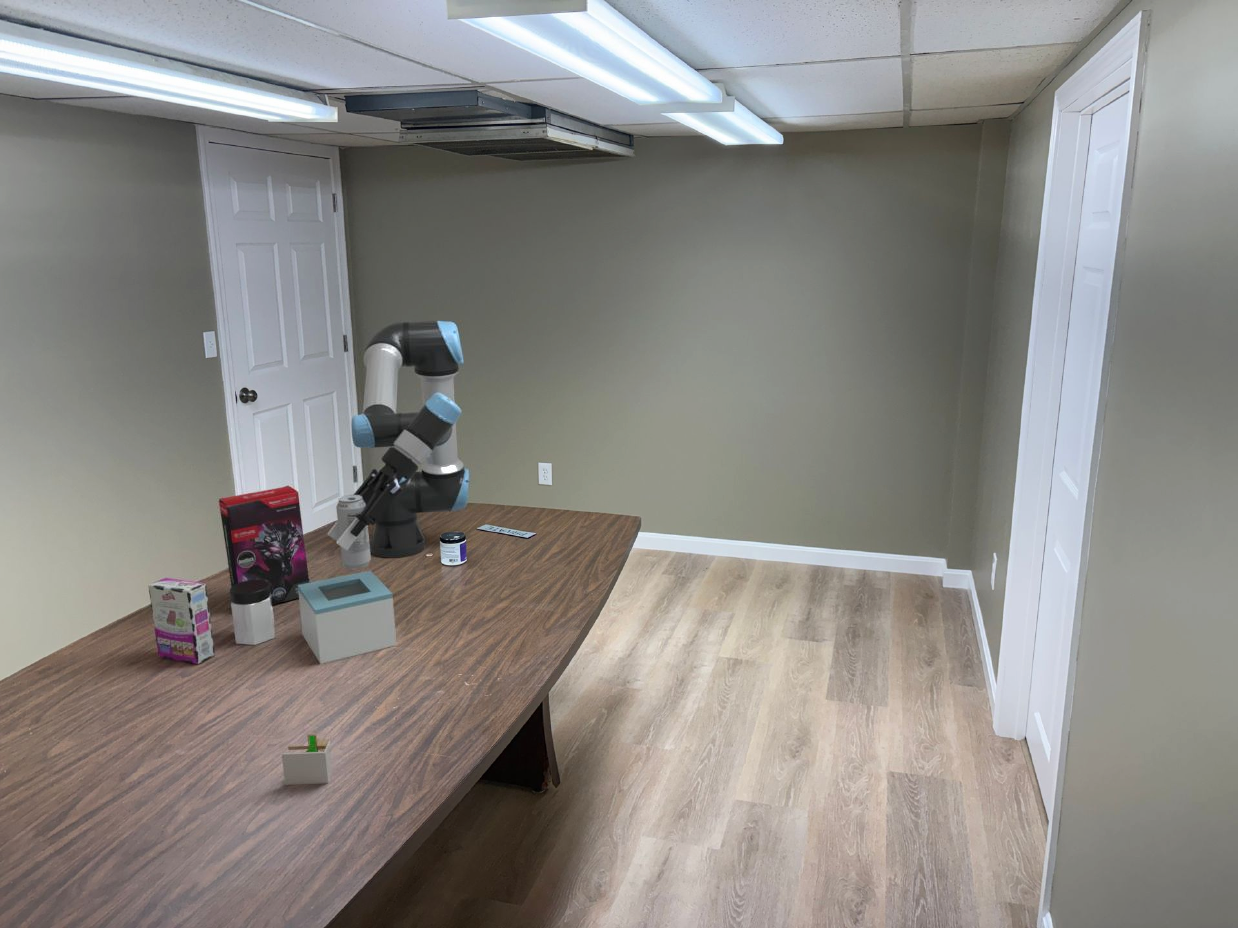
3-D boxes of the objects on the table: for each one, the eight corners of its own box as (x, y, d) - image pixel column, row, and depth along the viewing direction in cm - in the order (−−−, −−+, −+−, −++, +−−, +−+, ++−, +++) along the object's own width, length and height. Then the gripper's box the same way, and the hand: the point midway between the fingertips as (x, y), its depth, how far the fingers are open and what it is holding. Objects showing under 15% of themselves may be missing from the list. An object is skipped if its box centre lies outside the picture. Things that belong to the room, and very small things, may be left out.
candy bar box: (216, 655, 185) (207, 582, 181) (198, 665, 180) (188, 591, 176) (176, 647, 188) (166, 576, 184) (157, 657, 184) (146, 584, 180)
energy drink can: (362, 557, 192) (356, 492, 188) (376, 564, 188) (370, 497, 184) (336, 564, 188) (330, 498, 184) (351, 572, 183) (344, 503, 180)
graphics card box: (240, 615, 204) (226, 504, 198) (230, 606, 209) (217, 497, 203) (311, 596, 215) (301, 490, 209) (300, 588, 220) (290, 484, 214)
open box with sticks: (292, 772, 144) (288, 729, 142) (334, 770, 144) (330, 727, 143) (285, 786, 140) (280, 742, 138) (328, 785, 141) (324, 740, 139)
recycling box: (302, 635, 194) (297, 585, 191) (374, 619, 202) (370, 570, 199) (320, 663, 180) (315, 610, 177) (396, 645, 189) (392, 593, 186)
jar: (275, 642, 190) (269, 591, 187) (234, 648, 188) (228, 596, 185) (275, 626, 199) (270, 576, 196) (237, 631, 196) (230, 581, 193)
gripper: (434, 475, 183) (364, 564, 178) (403, 457, 198) (338, 539, 194) (408, 454, 179) (335, 545, 174) (378, 437, 194) (311, 520, 190)
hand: (337, 541), depth 184 cm, fingers closed on energy drink can, 6 cm apart
